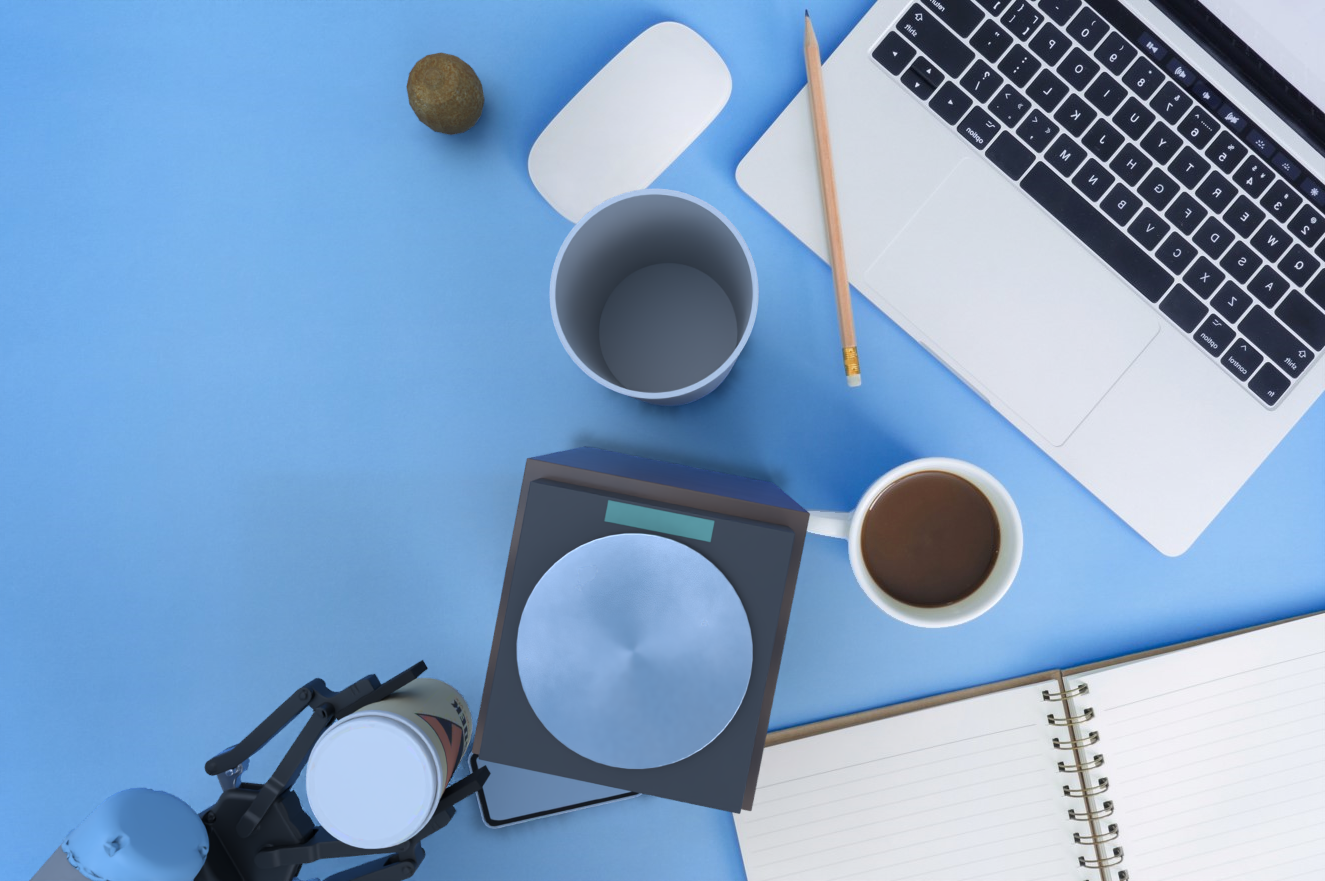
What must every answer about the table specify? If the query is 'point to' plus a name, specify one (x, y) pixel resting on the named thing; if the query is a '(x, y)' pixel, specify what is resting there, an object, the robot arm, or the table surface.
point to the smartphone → (535, 794)
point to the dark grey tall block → (672, 488)
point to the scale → (730, 542)
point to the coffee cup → (388, 764)
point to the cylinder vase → (655, 295)
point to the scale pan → (634, 650)
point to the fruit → (445, 93)
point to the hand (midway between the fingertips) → (451, 722)
